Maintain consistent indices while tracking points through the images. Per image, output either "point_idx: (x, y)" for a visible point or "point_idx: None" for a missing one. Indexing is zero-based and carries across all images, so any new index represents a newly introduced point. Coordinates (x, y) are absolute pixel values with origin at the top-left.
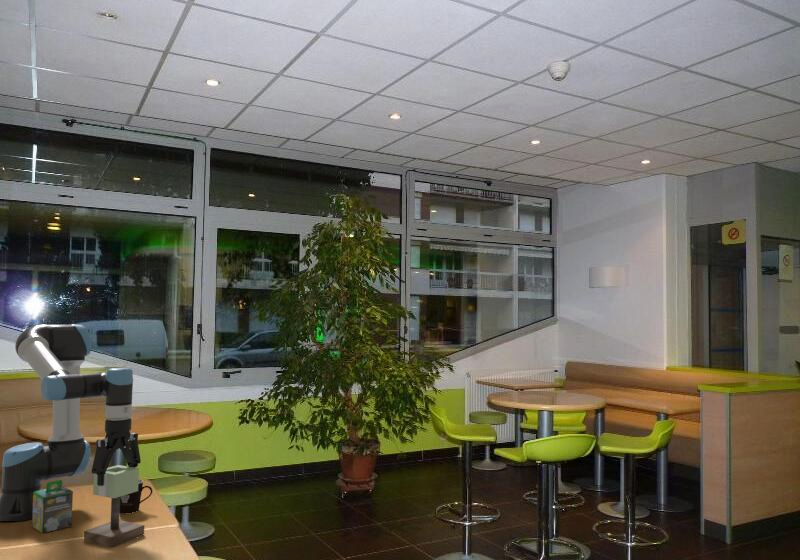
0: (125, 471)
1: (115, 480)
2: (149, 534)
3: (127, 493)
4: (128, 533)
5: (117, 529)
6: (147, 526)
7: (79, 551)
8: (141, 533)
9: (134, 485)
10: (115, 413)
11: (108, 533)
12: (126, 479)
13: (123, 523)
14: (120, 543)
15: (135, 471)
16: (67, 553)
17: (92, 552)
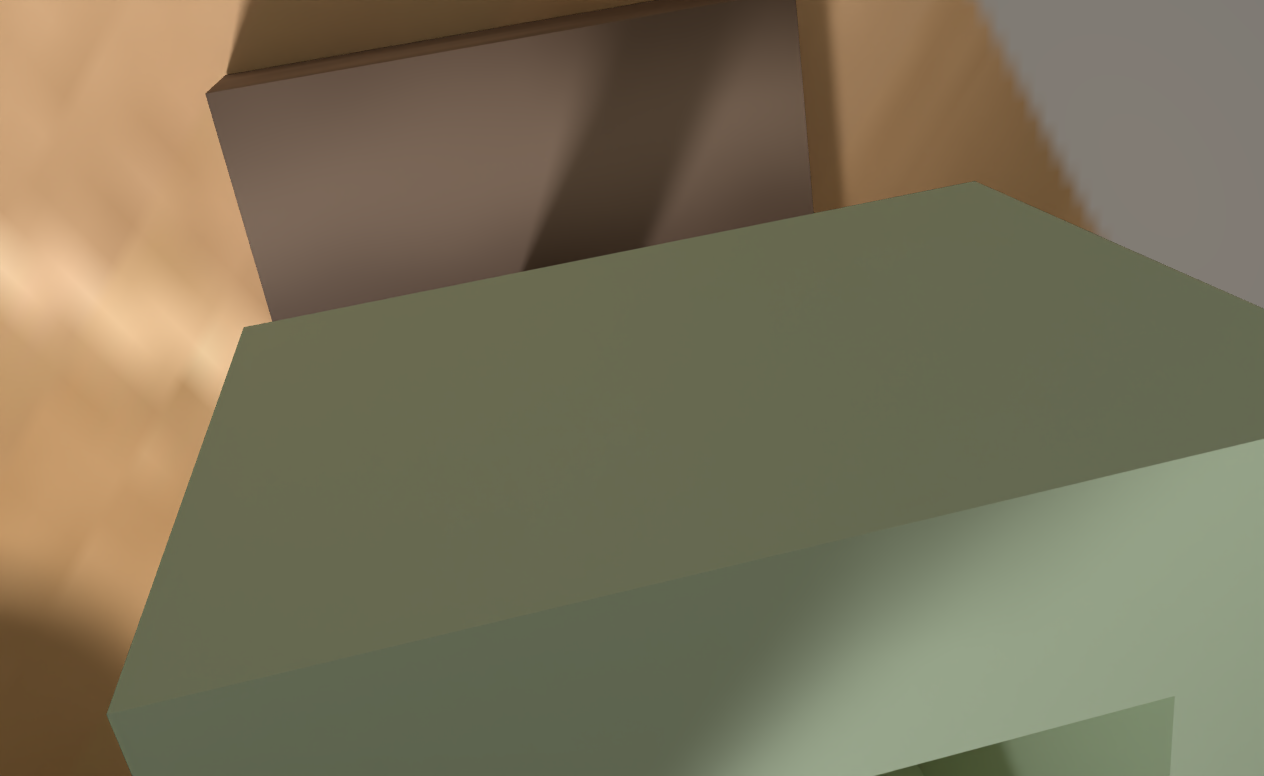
0: (885, 566)
1: (1236, 317)
2: (152, 40)
3: (592, 263)
4: (510, 36)
5: (568, 238)
6: (11, 362)
7: (1004, 182)
8: (269, 72)
9: (371, 360)
10: None
11: (731, 181)
12: (746, 389)
13: None
14: (626, 5)
15: (325, 600)
16: (1094, 226)
17: (957, 32)
